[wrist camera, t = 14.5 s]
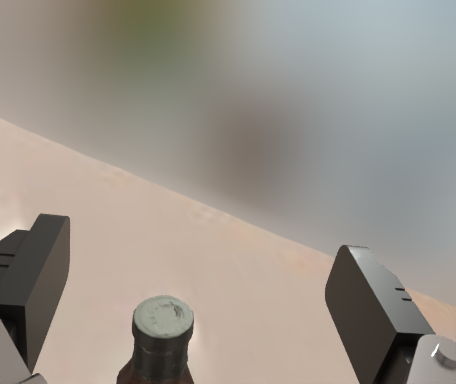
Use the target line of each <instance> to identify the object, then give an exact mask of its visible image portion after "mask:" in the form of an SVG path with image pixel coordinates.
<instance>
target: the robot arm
mask: <svg viewBox="0 0 456 384" xmlns="http://www.w3.org/2000/svg"><path fill="white" fill-rule="evenodd" d="M69 263H70V218H69V217H68V216H60V215H50V214H40V215H39V216H38V217H37V219H36V221H35V223H34V224H33V226H32V228H31V229H30V231H27V230H15V231H14V232H12V233H11V234H9V235H8V236H6V237H5V238H3V239H2V240H1V241H0V384H47V382H46V380H45V379H44V377H43V376H42V375H41V374H39V373H37V374H35V375H32V373H33V370H34V367H35V365H36V362H37V359H38V357H39V354H40V351H41V349H42V346H43V343H44V341H45V338H46V335H47V333H48V330H49V327H50V325H51V322H52V319H53V316H54V314H55V311H56V308H57V306H58V303H59V300H60V298H61V295H62V292H63V290H64V287H65V284H66V281H67V277H68V272H69ZM325 300H326V304H327V307H328V309H329V312H330V314H331V316H332V319H333V321H334V324H335V326H336V328H337V331H338V333H339V336H340V338H341V340H342V343H343V345H344V347H345V350H346V352H347V355H348V357H349V359H350V362H351V364H352V367H353V369H354V371H355V374H356V376H357V378H358V381H359V383H360V384H456V342H454V341H452V340H450V339H448V338H446V337H443V336H439V335H436V334H435V332H434V331H433V329H432V328H431V326H430V325H429V323H428V322H427V320H426V319H425V318H424V316H423V315H422V313H421V312H420V310H419V309H418V307H417V306H416V304H415V303H414V302H413V301H412V299H411V297H410V296H409V294H408V293H407V291H405V288H404V287H403V285H402V284H401V283H400V281H399V280H398V278H397V277H396V276H395V275H394V274H393V273H392V272H391V271H389V270H388V269H387V268H386V267H385V266H383V265H379V263H378V262H377V260H376V259H375V257H374V255H373V254H372V253H371V251H370V249H369V248H367V247H359V246H349V245H342V246H341V247H340V249H339V250H338V253H337V256H336V258H335V261H334V264H333V267H332V270H331V272H330V275H329V278H328V281H327V284H326V288H325Z"/></svg>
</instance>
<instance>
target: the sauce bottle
mask: <svg viewBox="0 0 456 384" xmlns="http://www.w3.org/2000/svg"><path fill="white" fill-rule="evenodd" d="M193 324H194V316H193V312H192V310H191V309H190V307H189V306H188V305H187V304H186V303H184V302H183V301H181V300H180V299H178V298H175V297H172V296H164V295H161V296H156V297H152V298H149V299H147V300H145V301H143V302H142V303H140V304H139V305H138V307H137V308H136V309H135V311H134V314H133V321H132V334H133V336H134V338H135V340H134V351H133V355H132V358H131V359H130V360H129V362H128V363H127V364H126V365H125V366H124V367H123V368H122V369H121V370H120V372H119V374H118V376H117V383H116V384H194V382H193V379H192V376H191V374H190V371H189V368H188V365H187V361H188V355H187V351H188V343H189V340H190V339H191V337H192V334H193Z"/></svg>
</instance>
